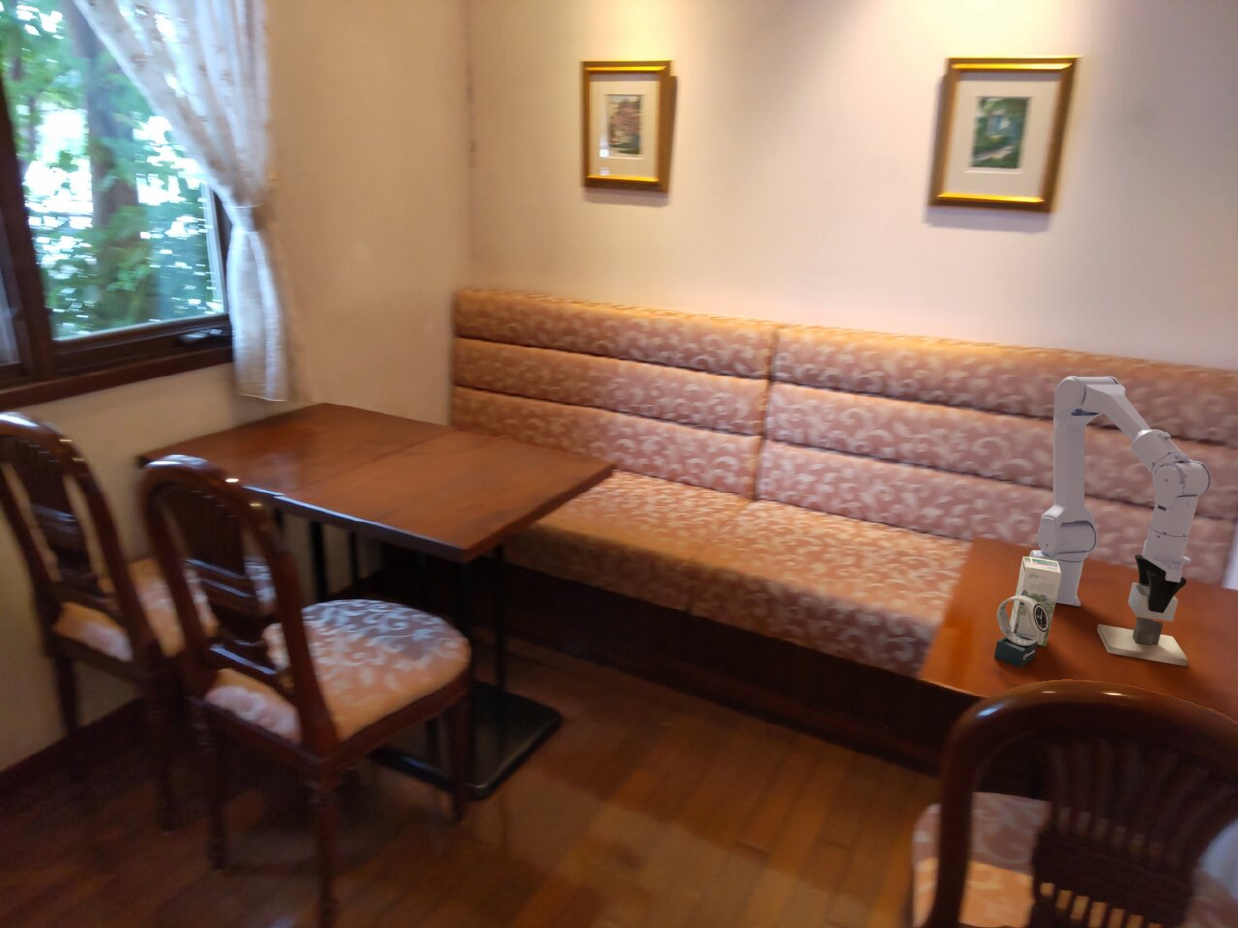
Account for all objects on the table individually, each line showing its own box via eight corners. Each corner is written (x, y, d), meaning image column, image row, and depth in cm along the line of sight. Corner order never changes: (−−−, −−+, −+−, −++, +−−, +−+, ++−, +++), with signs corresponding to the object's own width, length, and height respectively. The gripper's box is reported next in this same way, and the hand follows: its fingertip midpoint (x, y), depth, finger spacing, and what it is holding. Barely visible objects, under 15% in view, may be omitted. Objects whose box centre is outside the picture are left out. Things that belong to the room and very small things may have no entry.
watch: (1030, 672, 140) (1043, 612, 137) (984, 653, 146) (995, 594, 143) (1046, 662, 144) (1058, 603, 140) (999, 643, 149) (1011, 586, 146)
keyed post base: (1108, 652, 148) (1114, 625, 147) (1097, 630, 156) (1103, 604, 155) (1186, 666, 145) (1193, 638, 143) (1171, 642, 153) (1177, 616, 151)
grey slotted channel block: (1136, 616, 147) (1141, 595, 146) (1127, 602, 152) (1132, 582, 151) (1172, 621, 145) (1178, 600, 144) (1163, 608, 150) (1168, 587, 149)
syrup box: (1042, 633, 154) (1057, 559, 150) (1046, 648, 149) (1062, 571, 144) (1008, 627, 156) (1022, 553, 151) (1011, 641, 150) (1026, 565, 146)
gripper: (1210, 549, 136) (1190, 626, 140) (1182, 520, 150) (1165, 591, 154) (1160, 542, 138) (1142, 618, 142) (1137, 514, 152) (1121, 584, 156)
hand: (1151, 603), depth 148 cm, fingers closed on grey slotted channel block, 6 cm apart
